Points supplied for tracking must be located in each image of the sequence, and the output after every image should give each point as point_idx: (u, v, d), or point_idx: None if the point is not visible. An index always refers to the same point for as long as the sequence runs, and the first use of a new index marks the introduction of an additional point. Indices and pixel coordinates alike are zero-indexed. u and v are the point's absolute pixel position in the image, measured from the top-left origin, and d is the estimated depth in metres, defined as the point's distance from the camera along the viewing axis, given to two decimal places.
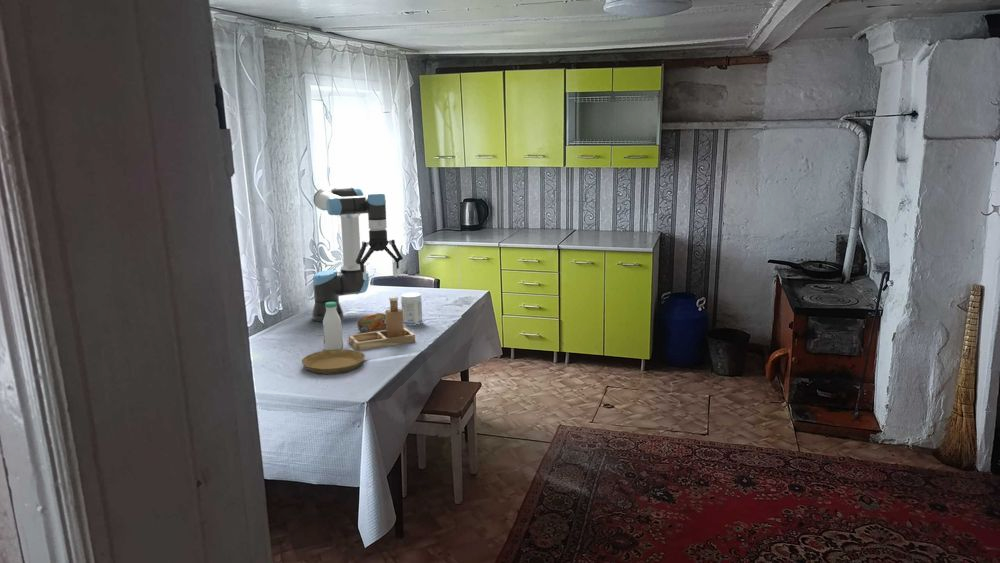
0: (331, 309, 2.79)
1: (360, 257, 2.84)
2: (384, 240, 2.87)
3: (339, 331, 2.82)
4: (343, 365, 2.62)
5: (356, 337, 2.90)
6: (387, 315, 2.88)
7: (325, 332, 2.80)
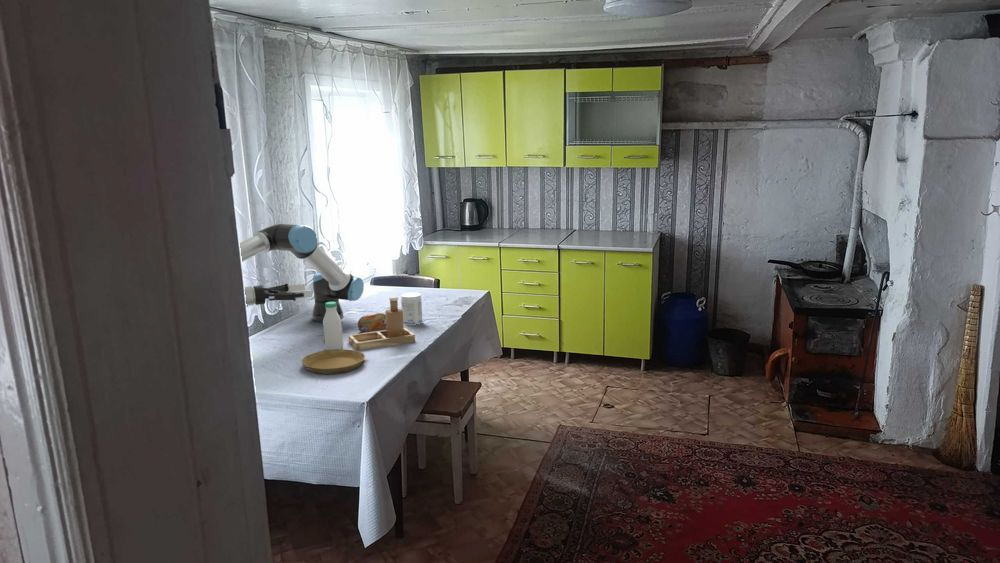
0: (331, 309, 2.79)
1: None
2: None
3: (339, 331, 2.82)
4: (343, 365, 2.62)
5: (356, 337, 2.90)
6: (387, 315, 2.88)
7: (325, 332, 2.80)
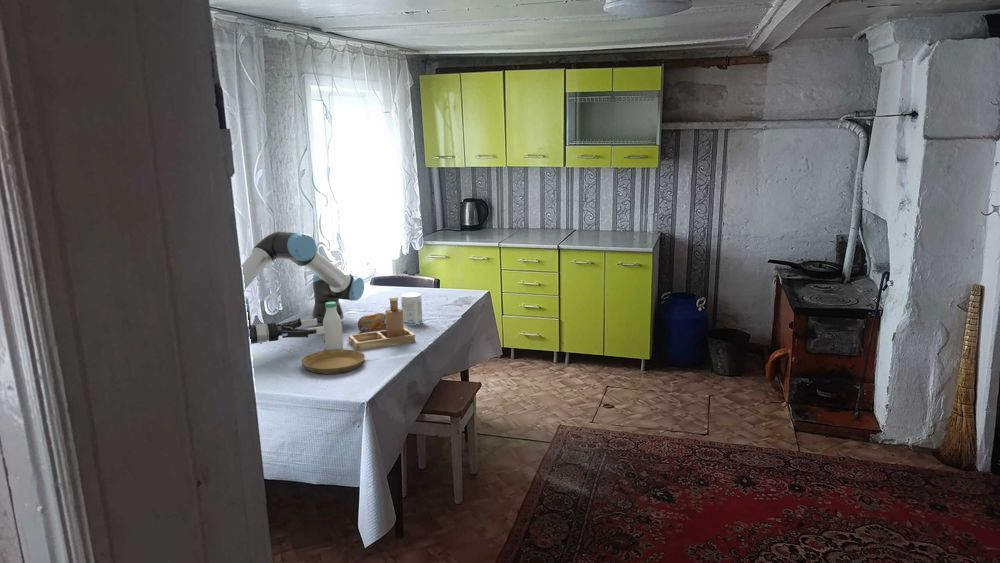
0: (331, 309, 2.79)
1: None
2: None
3: (339, 331, 2.82)
4: (343, 365, 2.62)
5: (356, 337, 2.90)
6: (387, 315, 2.88)
7: (325, 332, 2.80)
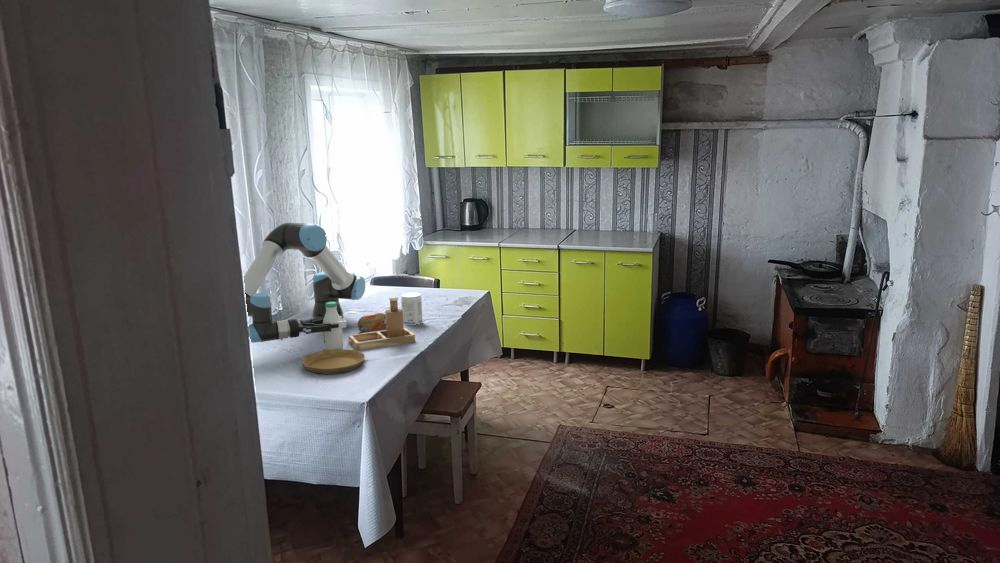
0: (331, 309, 2.79)
1: None
2: None
3: (339, 331, 2.82)
4: (343, 365, 2.62)
5: (356, 337, 2.90)
6: (387, 315, 2.88)
7: (325, 332, 2.80)
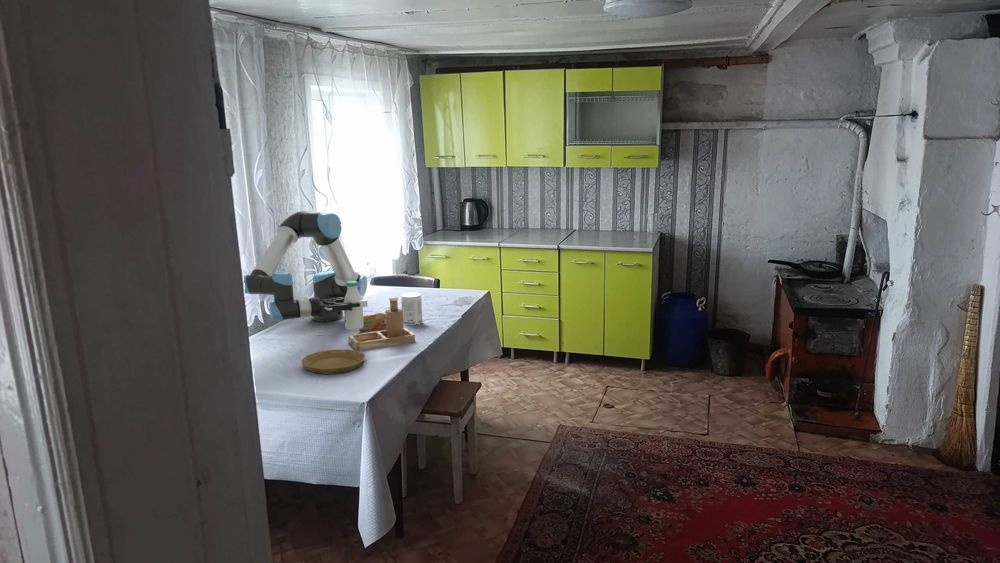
0: (352, 288, 2.78)
1: None
2: None
3: (360, 310, 2.81)
4: (343, 365, 2.62)
5: (356, 337, 2.90)
6: (387, 315, 2.88)
7: (346, 311, 2.79)
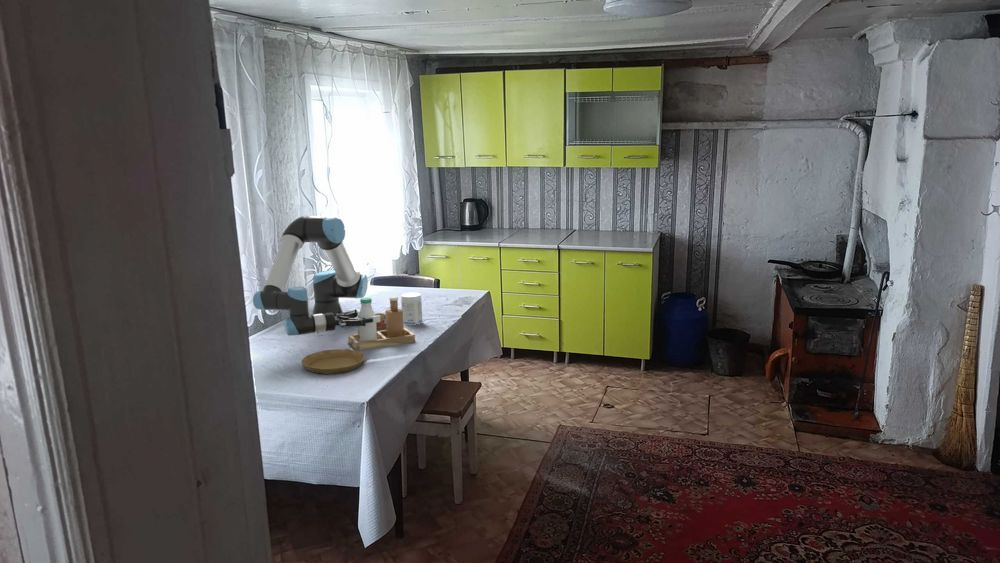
0: (366, 305, 2.82)
1: None
2: None
3: (374, 327, 2.84)
4: (343, 365, 2.62)
5: (356, 337, 2.90)
6: (387, 315, 2.88)
7: (360, 328, 2.83)
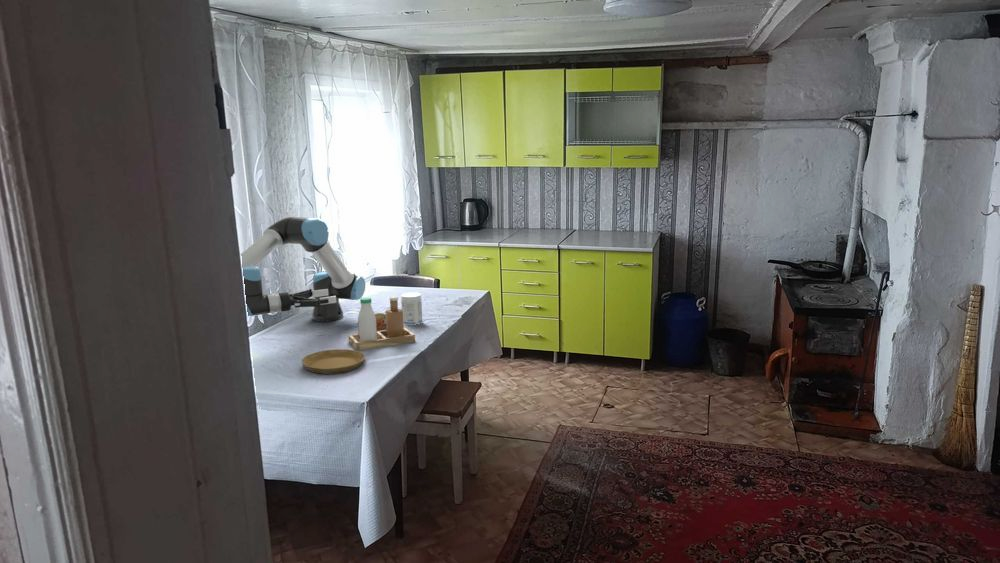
0: (366, 305, 2.82)
1: None
2: None
3: (374, 327, 2.84)
4: (343, 365, 2.62)
5: (356, 337, 2.90)
6: (387, 315, 2.88)
7: (360, 328, 2.83)
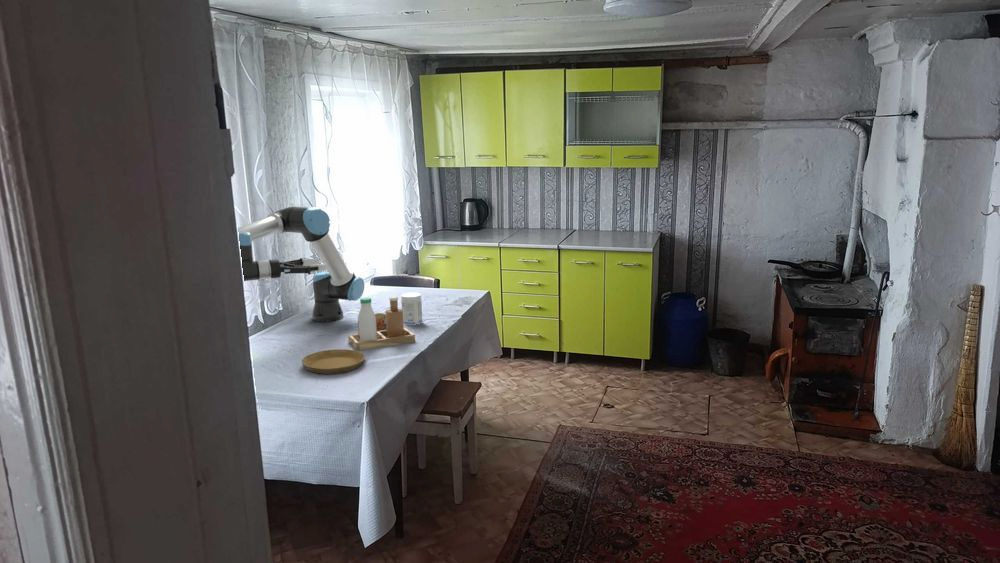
0: (366, 305, 2.82)
1: None
2: (283, 271, 2.70)
3: (374, 327, 2.84)
4: (343, 365, 2.62)
5: (356, 337, 2.90)
6: (387, 315, 2.88)
7: (360, 328, 2.83)
